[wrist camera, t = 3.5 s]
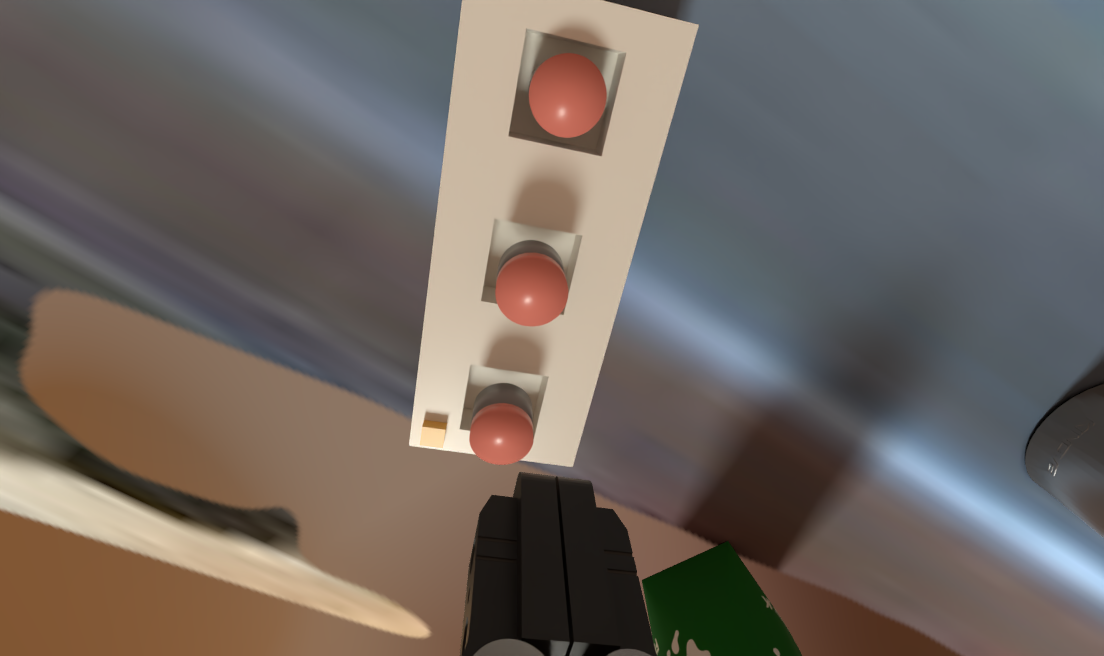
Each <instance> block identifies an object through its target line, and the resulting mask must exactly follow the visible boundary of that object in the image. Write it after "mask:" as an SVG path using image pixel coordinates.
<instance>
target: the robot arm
mask: <svg viewBox="0 0 1104 656" xmlns="http://www.w3.org/2000/svg"><path fill="white" fill-rule="evenodd" d="M1025 465H1026V469H1027V473H1028V474H1029V476H1030V477H1031V479H1032V480H1033V481H1034V482H1035V483H1037V484H1038V485H1039V486H1040V487H1042V488H1043V489H1044V490H1045V491H1047V492H1048V493H1049V494H1050V495H1051V496H1053V497H1054V498H1055V499H1056V500H1058V501H1059V502H1060V503H1061V504H1063V505H1064V506H1065V507H1066V508H1068V509H1069V510H1070V511H1071V512H1073V513H1074V514H1075V515H1076V516H1077V517H1079V518H1080V519H1081V520H1082V521H1084V522H1085V523H1086V524H1087V525H1088V526H1089V527H1091V528H1092V529H1093V530H1094V531H1096V532H1097V533H1098V534H1099V535H1101V536H1102V537H1103V538H1104V384H1102V385H1099V386H1097V387H1094V388H1091V389H1088V390H1086V391H1084V392H1082V393H1080V394H1078V395H1077V396H1075V397H1073V398H1071V399H1070V400H1068V401H1067V402H1065V403H1064V404H1062V405H1061V406H1060V407H1058V408H1057V409H1056V410H1055V411H1054V412H1053V413H1052V414H1050V415H1049V416H1048V417H1047V418H1046V419H1045V421H1044V422H1043V423H1042V424H1041V425H1040V426H1039V428H1038V429H1037V430H1036V432H1035V434H1034V435H1033V437H1032V439H1031V440H1030V442H1029V445H1028V448H1027V451H1026V458H1025ZM460 656H657V654H656V650H655V647H654V642H653V638H652V634H651V629H650V626H649V621H648V617H647V612H646V609H645V604H644V600H643V595H642V591H641V587H640V582H639V578H638V576H637V570H636V565H635V561H634V557H632V548H631V544H630V540H629V536H628V531H627V529H626V527H625V526H624V525H623V523H622V522H621V520H620V519H619V517H618V516H617V514H616V513H615V512H614V510H613V509H606V508H597V507H596V503H595V497H594V491H593V486H592V483H591V481H589V480H581V479H573V478H565V477H557V476H556V477H554V476H548V475H540V474H532V473H525V472H524V473H523V472H519V474H518V478H517V482H516V486H515V490H514V494H513V497H505V496H497V495H492V496H491V497H490V499H489V500H488V501H487V503H486V504H485V506H484V507H483V509H482V511H481V512H480V514H479V520H478V525H477V529H476V534H475V539H474V544H473V549H472V554H471V559H470V564H469V571H468V580H467V592H466V600H465V612H464V620H463V630H462V640H461V650H460Z"/></svg>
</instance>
